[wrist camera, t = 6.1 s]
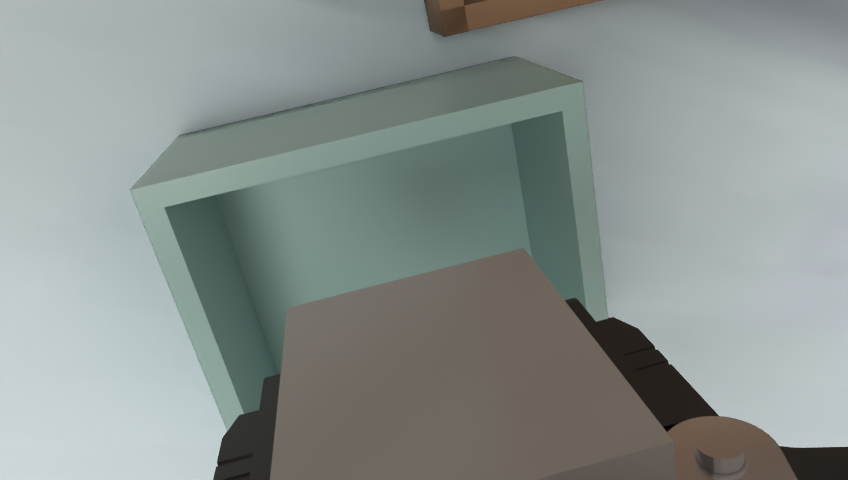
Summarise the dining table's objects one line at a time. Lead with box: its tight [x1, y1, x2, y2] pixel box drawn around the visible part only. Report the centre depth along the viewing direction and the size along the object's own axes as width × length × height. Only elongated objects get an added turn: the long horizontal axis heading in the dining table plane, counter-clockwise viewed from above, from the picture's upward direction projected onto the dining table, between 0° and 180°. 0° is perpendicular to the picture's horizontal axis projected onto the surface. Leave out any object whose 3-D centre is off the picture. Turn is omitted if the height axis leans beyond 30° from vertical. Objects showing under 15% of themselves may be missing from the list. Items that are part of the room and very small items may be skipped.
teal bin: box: [130, 56, 608, 431], centre depth 21 cm, size 11×11×6 cm
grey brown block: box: [270, 248, 677, 480], centre depth 9 cm, size 4×4×5 cm
